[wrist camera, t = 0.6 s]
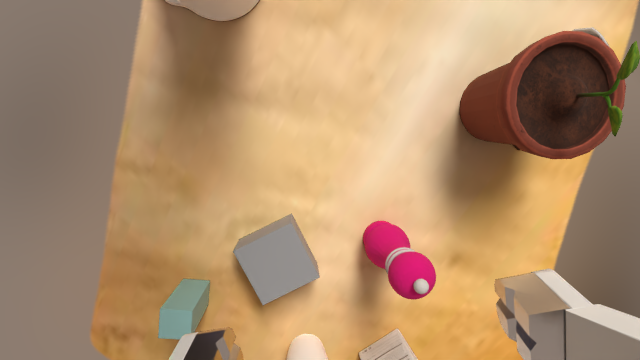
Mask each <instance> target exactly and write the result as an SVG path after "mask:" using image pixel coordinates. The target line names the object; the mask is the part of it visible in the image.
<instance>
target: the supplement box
mask: <svg viewBox="0 0 640 360" xmlns="http://www.w3.org/2000/svg"><path fill="white" fill-rule="evenodd" d="M359 356H360V360H418V359H417V357H416V356H415V354H414V352H413V351H412V349H411V348H410V346H409V345H408V343H407V342H406V340H405V338H404V337H403V335H402V334H401V332H400V331H399V329H395V330H394V331H392V332H390V333H389V334H387V335H386V336H384V337H383V338H381V339H379V340H378V341H376V342H375V343H373V344H372V345H370V346H368V347H367V348H365V349H364V350H362V351H361V352H359Z"/></svg>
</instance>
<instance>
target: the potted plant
mask: <svg viewBox="0 0 640 360" xmlns="http://www.w3.org/2000/svg"><path fill="white" fill-rule="evenodd" d="M639 59H640V55H639V51H638V46H637V41H636V42H634V43H633V44H632V45H631V47H630V49H629V51H628V53H627V55H626V57H625V59H624V61H623V63H622V65H621V64H620V62H619V60H618V58H617V57H616V55H615V53H614V51H613V50H612V49H611V48H610V47H609V45H608V43H607V42H606V40H605V39H604V37H603V36H602V35H601V34H600V33H599V32H598V31H597V30H596V29H594V28H583V29H574V30H573V31H562V32H559V33H556V34H553V35H550V36H547V37H544V38H542V39H541V40H539V41H537V42H535V43H533V44H531V45H530V46H528V47H527V48H526V49H524V50H523V51H522V52H520V53H519V54H518V55H516V56H515V57H514V58H513V60H512V61H511V62H510V63H508V64H506V65H504V66H501V67H499V68H497V69H495V70H492V71H490V72H488V73H486V74H483V75H481V76H479V77H477V78H476V79H475V80H473V81H472V82H471V83H470V84H469V85H468V87H467V88H466V89H465V91H464V93H463V95H462V98H461V101H460V116H461V120H462V123H463V125H464V126H465V128H466V129H467V131H468V132H469V133H470V134H472V135H473V136H474V137H475V138H478V139H481V140H484V141H490V142H497V143H504V144H512V145H513V146H514V147H515V148H516V149H517V150H522V151H525V152H528V153H531V154H534V155H537V156H541V157H545V158H550V159H571V158H574V157H577V156H580V155H583V154H585V153H588V152H590V151H591V150H592V149H594V148H595V147H596V146H598V145H599V144H600V143H602V142H603V141H604V140H605V139H606V138H607V136H608V135H609V134H610V132H611V131H612V133H613V135H614V136H616V134H617V132H618V130H619V128H620V125H621V122H622V109H623V106H624V98H625V89H626V85H625V80H624V79H625V78H627V77H628V76H629V75H630V73H632V72H633V71H634V70H635V69H636V68H637V66H638V63H639Z"/></svg>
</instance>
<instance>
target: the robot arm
mask: <svg viewBox="0 0 640 360" xmlns="http://www.w3.org/2000/svg"><path fill="white" fill-rule="evenodd" d="M165 1H166V2H167V3H169V4H172V5H176V6H182V7H186V8H188V9H190V10H192V11H193V12H195V13H196V14H198V15H200V16H202V17H204V18H207V19H211V20H216V21H228V20H233V19H236V18H239V17H241V16H243V15H245V14H246V13H248V12H249V11H250V10H251V9H252V8H253V7H254V6H255V5H256V4H257V3H258V1H259V0H165ZM494 285H495V292H496V293H497V295H498V296H499V297H500V299H499V300H498V302H497V303H496V307H497V314H498V317H499V320H500V323H501V325H502V327H503V329H504V331H505V333H506V334H507V336H508V337H509V338H510V339H512V340H514V341H516V342H517V350H518V352H519V353H520V355H521V356H522V358H523V359H524V360H640V319H639V318H637V317H634V316H631V315H628V314H625V313H623V312H620V311H617V310H614V309H611V308H609V307H606V306H603V305H600V304H597V305H593V304H592V303H590V302H589V301H588V300H587V299H586V298H585V297H584V296H582V295H581V294H580V293H579V292H578V291H577V290H575V289H574V288H573V287H572V286H571V285H570V284H568V283H567V282H566V281H565V280H564V279H563V278H562V277H560V276H559V275H558V274H557V273H556V272H555V271H554V270H551V269H545V270H540V271H535V272H531V273H527V274H522V275H516V276H511V277H506V278H500V279H495V284H494ZM235 338H236V336H235V334H234V331H233V329H232V328H230V327H226V328H220V329H213V330H207V331H200V332H195V333H189V334H185V335H183V336H182V337H181V338H180V340H179V342H178V344H177V346H176V347H175V349H174V351H173V353H172V354H171V356H170V358H169V360H244V359H243V354H242V351H241V349H240V347H238V346H237V345H235V344H234V341H235Z"/></svg>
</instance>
